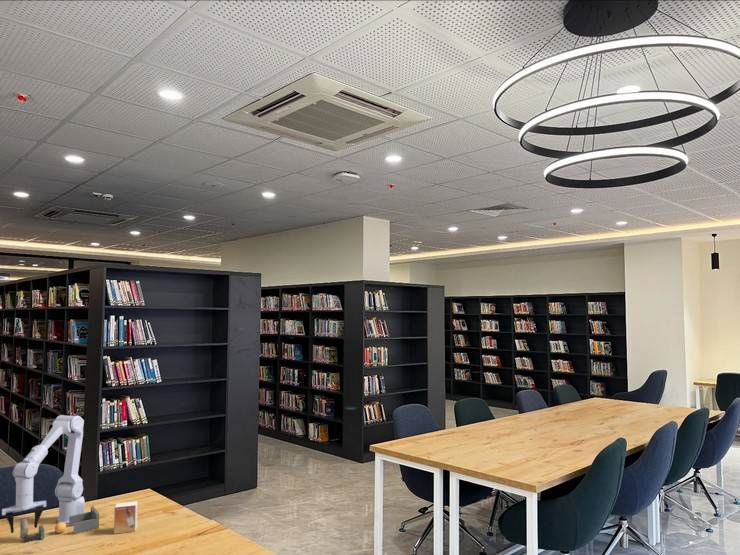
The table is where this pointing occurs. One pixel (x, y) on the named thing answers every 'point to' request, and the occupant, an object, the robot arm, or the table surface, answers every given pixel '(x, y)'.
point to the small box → (125, 517)
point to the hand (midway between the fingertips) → (24, 529)
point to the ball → (60, 527)
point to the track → (31, 538)
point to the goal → (85, 521)
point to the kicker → (25, 530)
